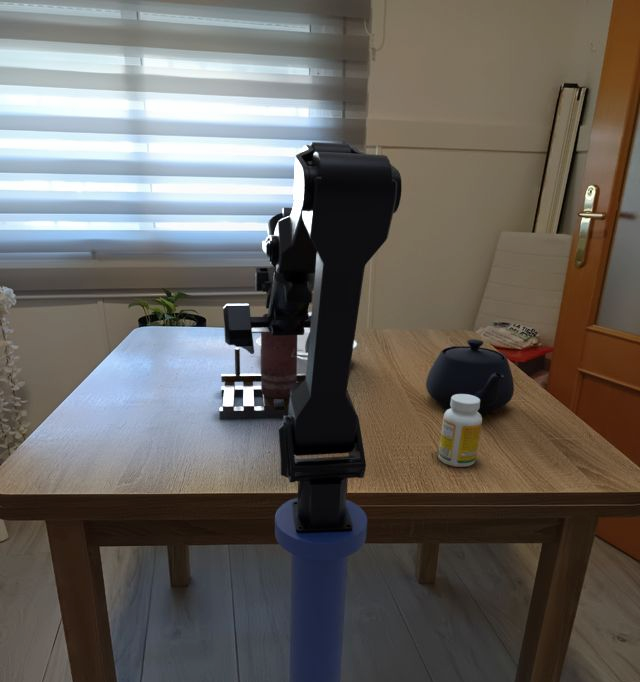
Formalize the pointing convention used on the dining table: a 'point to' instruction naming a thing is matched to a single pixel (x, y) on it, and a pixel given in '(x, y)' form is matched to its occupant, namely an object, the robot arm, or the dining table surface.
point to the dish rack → (249, 396)
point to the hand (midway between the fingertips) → (279, 350)
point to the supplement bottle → (460, 431)
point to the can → (278, 365)
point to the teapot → (471, 376)
